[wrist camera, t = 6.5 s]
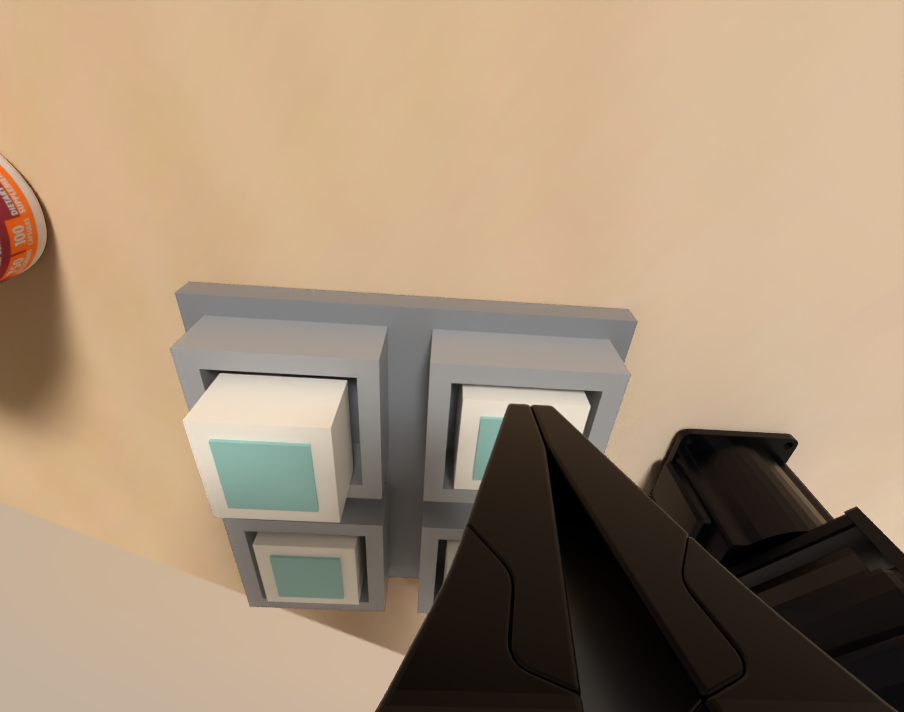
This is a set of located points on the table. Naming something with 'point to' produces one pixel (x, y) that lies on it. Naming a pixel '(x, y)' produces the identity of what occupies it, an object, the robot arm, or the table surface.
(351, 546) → the button
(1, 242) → the pill bottle
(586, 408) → the button
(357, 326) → the console
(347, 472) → the button
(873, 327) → the table surface
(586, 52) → the table surface
